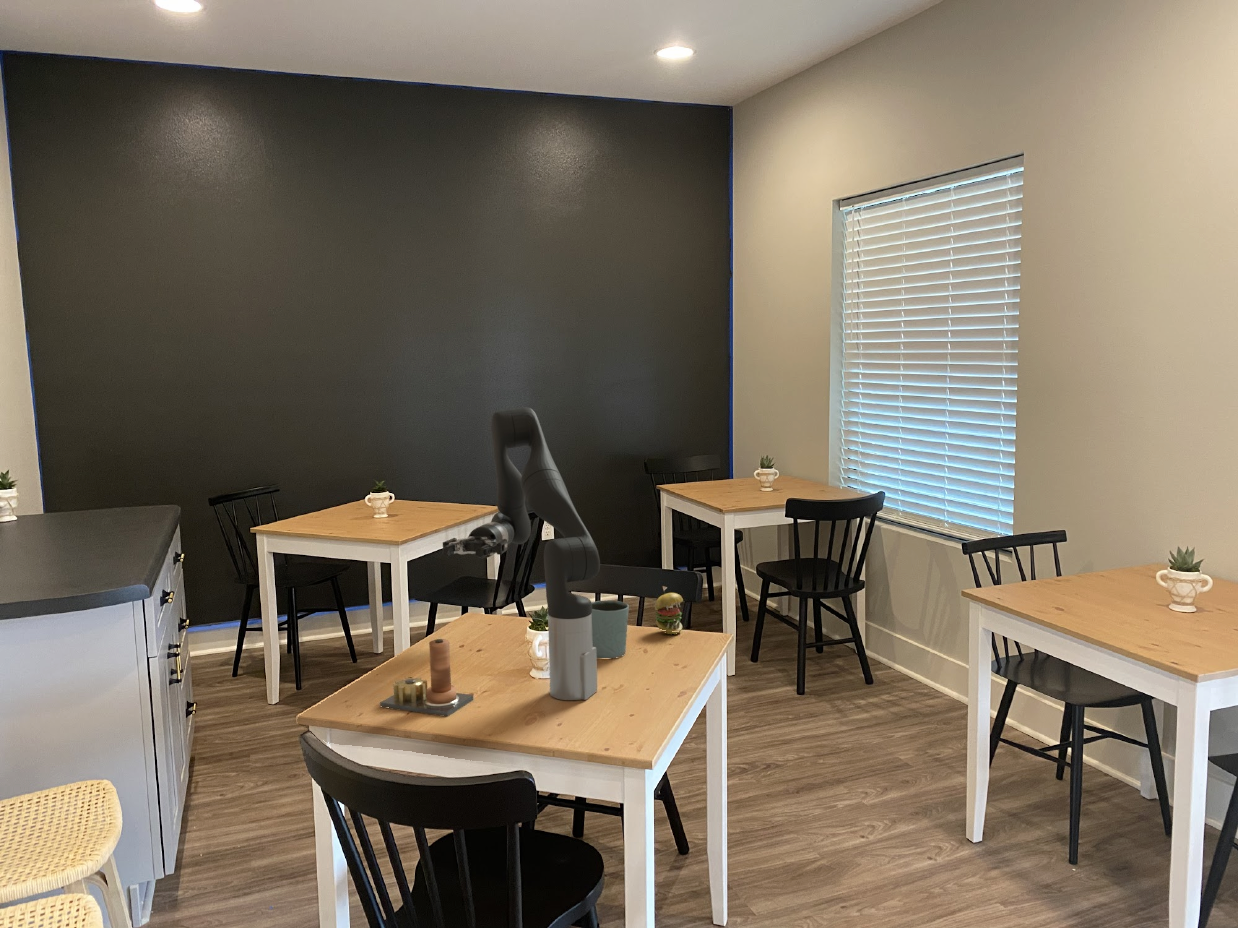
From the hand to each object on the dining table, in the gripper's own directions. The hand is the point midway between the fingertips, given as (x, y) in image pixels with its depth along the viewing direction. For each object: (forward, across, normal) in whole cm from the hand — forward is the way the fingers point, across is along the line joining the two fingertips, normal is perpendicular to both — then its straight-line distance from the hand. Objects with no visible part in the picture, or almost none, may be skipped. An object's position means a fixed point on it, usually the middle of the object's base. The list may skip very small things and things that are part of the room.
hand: (464, 552), depth 204 cm
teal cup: (-19, +28, +28) cm, 44 cm away
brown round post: (+20, +2, +27) cm, 33 cm away
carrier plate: (+19, -2, +28) cm, 34 cm away
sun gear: (+18, -6, +28) cm, 34 cm away
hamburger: (-40, +40, +28) cm, 63 cm away
